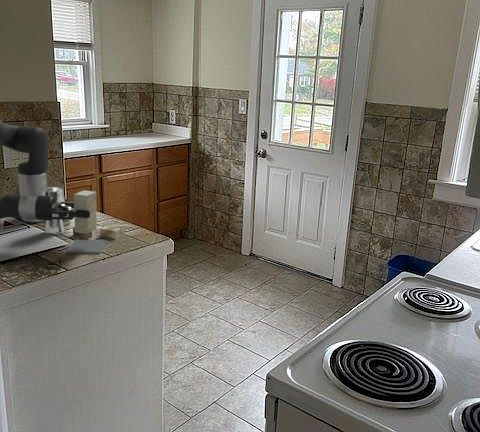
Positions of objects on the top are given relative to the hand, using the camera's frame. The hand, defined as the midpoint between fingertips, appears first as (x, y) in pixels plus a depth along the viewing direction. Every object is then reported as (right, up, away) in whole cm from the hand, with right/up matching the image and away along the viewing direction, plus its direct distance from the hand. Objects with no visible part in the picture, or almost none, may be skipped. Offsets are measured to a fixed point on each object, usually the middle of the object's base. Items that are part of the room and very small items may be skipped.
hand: (92, 210), depth 149 cm
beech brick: (+2, -9, +15) cm, 17 cm away
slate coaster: (-3, -12, +4) cm, 12 cm away
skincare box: (-3, -6, +2) cm, 7 cm away
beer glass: (-18, -7, +15) cm, 24 cm away
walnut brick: (-7, -9, +13) cm, 17 cm away
